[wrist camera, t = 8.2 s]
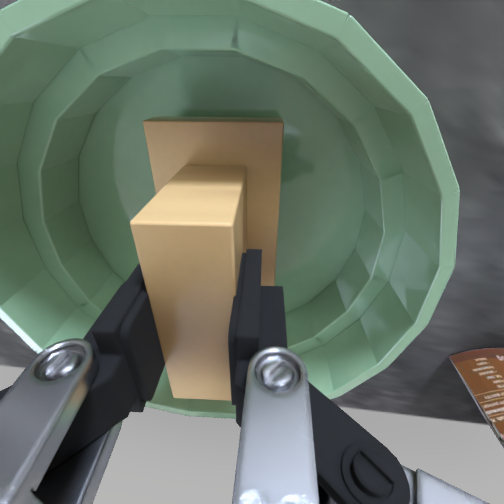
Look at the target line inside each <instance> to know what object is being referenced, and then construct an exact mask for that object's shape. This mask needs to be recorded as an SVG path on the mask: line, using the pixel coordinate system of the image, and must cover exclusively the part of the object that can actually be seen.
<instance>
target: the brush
mask: <svg viewBox="0 0 504 504" xmlns="http://www.w3.org/2000/svg"><path fill="white" fill-rule="evenodd" d="M143 126H144V132H145V137H146V142H147V148H148V153H149V159H150V164H151V169H152V175H153V180H154V186H155V191H156V195H155V196H154V197H153V198H152V199H151V200H150V201H149V202H148V203H147V204H146V205H145V206H144V207H143V209H142V210H141V211H140V212H139V213H138V214H137V215H136V216H135V217H134V218H133V219H132V220H131V221H130V226H131V230H132V234H133V238H134V242H135V246H136V250H137V254H138V258H139V262H140V266H141V270H142V274H143V278H144V282H145V286H146V290H147V293H148V297H149V301H150V305H151V309H152V313H153V317H154V321H155V325H156V329H157V333H158V337H159V341H160V345H161V349H162V353H163V357H164V361H165V366H166V370H167V374H168V378H169V382H170V386H171V390H172V394H173V397H174V398H185V399H207V400H228V401H231V385H230V368H229V350H228V332H229V324H230V317H231V311H232V305H233V298H234V296H236V292H237V285H238V278H239V271H240V264H241V257H242V253H246V250H247V249H262V263H261V286H275V271H276V254H277V236H278V219H279V202H280V185H281V168H282V151H283V134H284V122H283V119H282V118H281V117H173V116H155V117H152V118H149V119H146V120H144V121H143Z"/></svg>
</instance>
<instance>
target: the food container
mask: <svg viewBox="0 0 504 504" xmlns="http://www.w3.org/2000/svg"><path fill="white" fill-rule="evenodd" d="M448 357H449V358H450V360H451V362H452V363H453V365H454V367H455V369H456V370H457V372H458V374H459V375H460V377H461V379H462V381H463V382H464V384H465V386H466V387H467V389H468V391H469V393H470V394H471V396H472V398H473V399H474V401H475V403H476V405H477V406H478V408H479V410H480V411H481V413H482V415H483V417H484V418H485V420H486V421H487V423H488V424H489V426H490V427H491V429H492V430H493V432H494V434H495V435H496V437H497V438H498V440H499V441H500V443H501V444H502V446H503V448H504V348H484V349H476V350H470V351H465V352H461V353H458V354H454V355H451V356H448Z"/></svg>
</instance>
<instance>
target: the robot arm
mask: <svg viewBox="0 0 504 504" xmlns="http://www.w3.org/2000/svg"><path fill="white" fill-rule="evenodd" d="M261 263H262V249H247V250H246V253H242V257H241V264H240V271H239V278H238V285H237V292H236V296H234V298H233V305H232V311H231V317H230V324H229V332H228V350H229V368H230V385H231V402H232V405H235V407H236V422H237V424H238V425H239V426H240V427H241V432H240V440H239V449H238V458H237V465H236V474H235V482H234V491H233V499H232V504H489V503H487V502H485V501H483V500H481V499H479V498H477V497H475V496H473V495H471V494H469V493H466V492H465V491H462V490H461V489H459V488H457V487H455V486H452V485H450V484H448V483H446V482H444V481H442V480H440V479H438V478H436V477H434V476H432V475H430V474H428V473H426V472H424V471H422V470H420V469H417V470H416V472H414V471H412V470H410V469H408V468H406V467H404V466H402V465H401V464H400V463H399V461H398V460H397V458H396V457H395V456H394V455H393V454H392V453H391V452H390V451H389V450H388V449H387V448H386V447H385V446H384V445H383V444H382V443H380V442H379V441H378V440H377V439H376V438H375V437H373V436H372V435H371V434H370V433H369V432H367V431H366V430H365V429H364V428H362V426H360V425H359V424H358V423H357V422H356V421H354V420H353V419H352V418H351V417H350V416H349V415H347V414H346V413H345V412H344V411H343V410H341V409H340V408H339V407H338V406H337V405H336V404H335V403H333V402H332V401H331V400H330V399H329V398H327V397H326V396H325V395H324V394H323V393H322V392H320V391H319V390H318V389H317V388H316V387H315V386H313V385H312V384H311V383H310V382H309V381H308V372H307V368H306V365H305V363H304V362H303V360H302V358H301V357H300V356H299V355H297V354H296V353H295V352H294V351H292V350H290V349H288V346H287V333H286V320H285V306H284V293H283V286H261ZM164 366H165V361H164V357H163V353H162V349H161V345H160V341H159V337H158V333H157V329H156V325H155V321H154V317H153V313H152V309H151V305H150V301H149V297H148V293H147V290H146V286H145V282H144V278H143V274H142V270H141V266H140V262H139V264H138V265H137V266H136V268H135V269H134V271H133V272H132V274H131V275H130V276H129V278H128V279H127V281H126V282H124V283H123V284H122V285H121V286H120V287H119V289H118V290H117V292H116V293H115V294H114V296H113V297H112V299H111V300H110V301H109V303H108V304H107V306H106V307H105V308H104V310H103V311H102V313H101V314H100V315H99V317H98V318H97V320H96V321H95V323H94V324H93V325H92V327H91V328H90V330H89V331H88V332H87V334H86V335H85V337H84V338H83V339H79V338H72V339H66V340H62V341H59V342H57V343H54V344H52V345H50V346H48V347H47V348H45V349H44V350H43V351H41V352H40V353H39V354H38V355H37V356H36V357H35V358H34V359H33V360H32V361H31V362H30V363H29V365H28V366H27V367H26V368H25V370H24V371H23V372H22V374H21V375H20V376H19V377H18V379H17V380H16V381H15V382H14V384H13V385H12V386H10V387H8V388H6V389H4V390H2V391H0V504H93V501H94V498H95V496H96V493H97V490H98V488H99V485H100V482H101V480H102V477H103V474H104V471H105V469H106V466H107V464H108V461H109V458H110V456H111V453H112V451H113V448H114V445H115V442H116V440H117V437H118V435H119V432H120V429H121V425H122V420H124V419H125V418H127V417H128V415H129V412H143V410H144V407H145V404H146V402H147V401H151V400H152V399H153V396H154V394H155V391H156V388H157V386H158V383H159V380H160V377H161V374H162V372H163V369H164Z"/></svg>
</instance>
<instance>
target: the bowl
mask: <svg viewBox="0 0 504 504" xmlns="http://www.w3.org/2000/svg"><path fill="white" fill-rule="evenodd" d="M155 116H173V117H281V118H282V119H283V122H284V134H283V151H282V168H281V185H280V202H279V219H278V236H277V254H276V271H275V286H283V293H284V306H285V320H286V333H287V346H288V349H290V350H292V351H294V352H295V353H296V354H297V355H299V356H300V357H301V358H302V360H303V362H304V363H305V365H306V368H307V372H308V381H309V382H310V383H311V384H312V385H313V386H315V387H316V388H317V389H318V390H319V391H320V392H322V393H323V394H324V395H325V396H326V397H327V398H329V399H333V398H336V397H339V396H341V395H343V394H345V393H346V392H348V391H350V390H351V389H353V388H355V387H356V386H358V385H360V384H361V383H363V382H364V381H366V380H368V379H369V378H371V377H373V376H374V375H376V374H378V373H379V372H381V371H383V370H384V369H386V368H387V367H388V366H389V365H390V364H391V363H392V362H393V361H394V360H395V359H396V358H397V357H398V356H399V355H400V354H401V353H402V351H403V350H404V349H405V348H406V347H407V346H408V345H409V344H410V343H411V342H412V341H413V340H414V339H415V338H416V337H417V336H418V335H419V334H420V333H421V332H422V330H423V329H424V328H425V327H426V325H428V323H429V321H430V319H431V316H432V314H433V312H434V310H435V308H436V306H437V304H438V302H439V299H440V297H441V295H442V293H443V291H444V289H445V287H446V285H447V282H448V280H449V278H450V276H451V274H452V272H453V270H454V266H455V257H456V243H457V228H458V213H459V198H460V190H459V185H458V182H457V179H456V176H455V173H454V171H453V168H452V165H451V162H450V159H449V156H448V153H447V151H446V148H445V145H444V142H443V139H442V136H441V133H440V131H439V128H438V125H437V122H436V119H435V116H434V113H433V110H432V108H431V105H430V102H429V101H428V99H427V97H426V96H425V95H424V94H423V93H422V92H421V90H420V89H419V88H418V87H417V86H416V85H415V84H414V83H413V82H412V81H411V80H410V78H409V77H408V76H407V75H406V74H405V73H404V72H403V71H402V70H401V69H400V68H399V66H398V65H397V64H396V63H395V62H394V61H393V60H392V59H391V58H390V57H389V56H388V55H387V53H386V52H385V51H384V50H383V49H382V48H381V47H380V46H379V45H378V44H377V43H376V41H375V40H374V39H373V38H372V37H371V36H370V35H369V34H368V33H367V32H366V31H365V29H364V28H363V27H362V26H361V25H360V24H359V23H358V22H357V21H356V20H355V19H354V18H353V16H351V15H349V14H348V13H347V12H345V11H343V10H341V9H339V8H336V7H334V6H332V5H330V4H328V3H325V2H323V1H321V0H18V1H16V2H14V3H12V4H11V5H9V6H7V7H5V8H3V9H1V10H0V318H1V319H2V320H3V321H4V322H5V323H6V324H7V325H8V326H9V327H10V328H11V329H12V330H13V331H14V332H15V333H16V334H17V335H18V336H19V337H20V338H22V339H23V340H24V341H25V342H26V343H27V344H28V345H29V346H30V347H31V348H32V349H33V350H34V351H36V353H38V354H39V353H40V352H41V351H43V350H44V349H45V348H47V347H48V346H50V345H52V344H54V343H57V342H59V341H62V340H66V339H72V338H79V339H83V338H84V337H85V335H86V334H87V332H88V331H89V330H90V328H91V327H92V325H93V324H94V323H95V321H96V320H97V318H98V317H99V315H100V314H101V313H102V311H103V310H104V308H105V307H106V306H107V304H108V303H109V301H110V300H111V299H112V297H113V296H114V294H115V293H116V292H117V290H118V289H119V287H120V286H121V285H122V284H123V283H124V282H126V281H127V279H128V278H129V276H130V275H131V274H132V272H133V271H134V269H135V268H136V266H137V265H138V264H139V258H138V254H137V250H136V246H135V242H134V238H133V234H132V230H131V226H130V221H131V220H132V219H133V218H134V217H135V216H136V215H137V214H138V213H139V212H140V211H141V210H142V209H143V207H144V206H145V205H146V204H147V203H148V202H149V201H150V200H151V199H152V198H153V197H154V196H155V195H156V191H155V186H154V180H153V175H152V169H151V164H150V159H149V153H148V148H147V142H146V137H145V132H144V126H143V121H144V120H146V119H149V118H152V117H155ZM145 407H150V408H154V409H159V410H163V411H168V412H172V413H177V414H181V415H185V416H196V417H214V418H233V419H236V407H235V405H232V402H231V401H228V400H207V399H185V398H174V397H173V394H172V390H171V386H170V382H169V378H168V374H167V370H166V366H164V369H163V372H162V374H161V377H160V380H159V383H158V386H157V388H156V391H155V394H154V396H153V399H152V400H151V401H147V402H146V404H145Z"/></svg>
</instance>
